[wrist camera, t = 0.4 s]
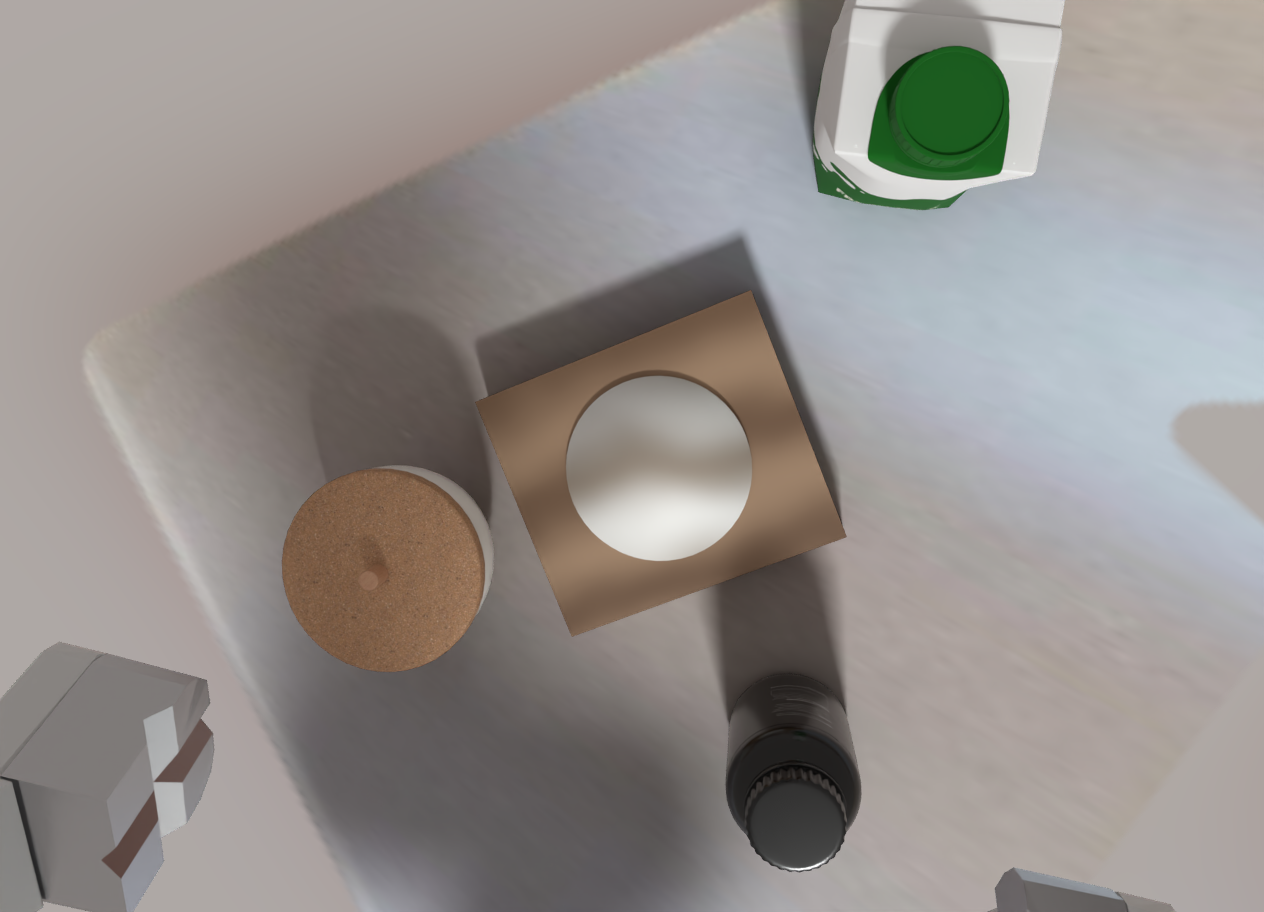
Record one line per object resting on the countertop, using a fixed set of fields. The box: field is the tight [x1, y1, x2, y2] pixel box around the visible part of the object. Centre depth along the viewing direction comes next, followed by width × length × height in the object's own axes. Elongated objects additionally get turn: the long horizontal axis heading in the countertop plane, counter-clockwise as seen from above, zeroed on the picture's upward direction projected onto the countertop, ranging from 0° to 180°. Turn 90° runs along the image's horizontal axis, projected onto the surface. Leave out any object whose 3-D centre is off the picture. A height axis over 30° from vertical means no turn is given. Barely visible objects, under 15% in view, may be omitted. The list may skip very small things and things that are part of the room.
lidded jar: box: [282, 465, 494, 672], centre depth 60 cm, size 11×11×9 cm
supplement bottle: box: [726, 674, 861, 872], centre depth 57 cm, size 7×7×12 cm
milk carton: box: [813, 0, 1065, 210], centre depth 49 cm, size 9×9×20 cm
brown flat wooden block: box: [475, 290, 846, 637], centre depth 61 cm, size 14×16×3 cm
